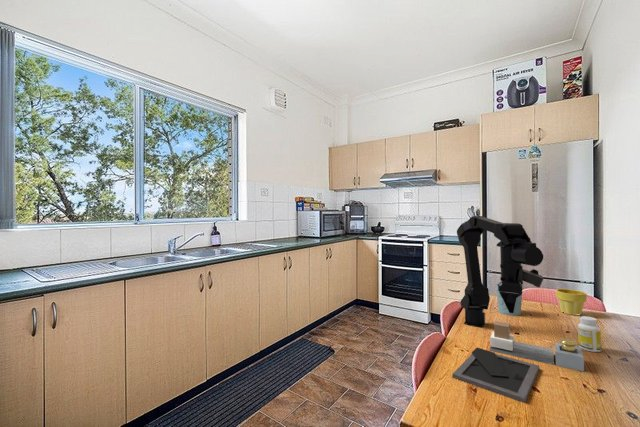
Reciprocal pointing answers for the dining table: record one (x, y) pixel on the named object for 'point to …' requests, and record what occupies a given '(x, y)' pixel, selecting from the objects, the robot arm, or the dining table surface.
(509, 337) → the carriage
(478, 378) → the picture frame
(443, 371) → the dining table surface
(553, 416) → the dining table surface
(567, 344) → the button
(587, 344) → the supplement bottle
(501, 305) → the teal embossed planter
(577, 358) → the grey notched block
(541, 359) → the rail
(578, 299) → the plant pot
